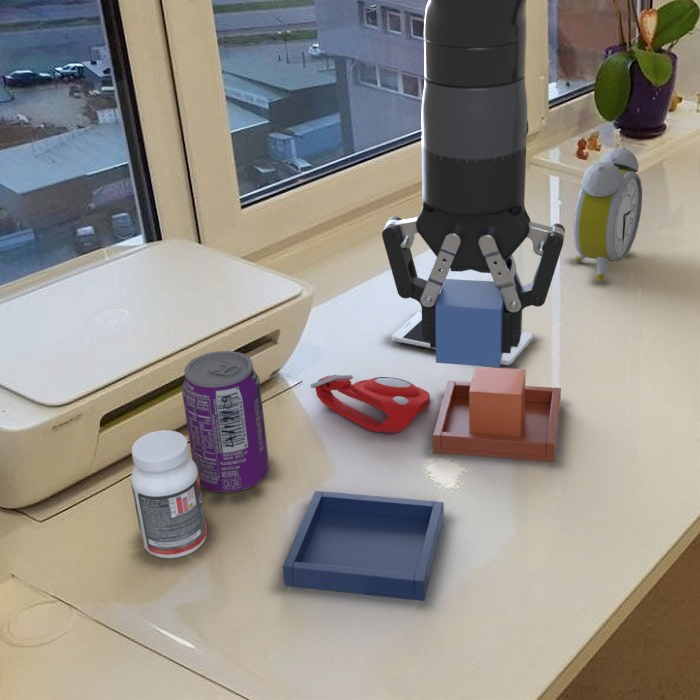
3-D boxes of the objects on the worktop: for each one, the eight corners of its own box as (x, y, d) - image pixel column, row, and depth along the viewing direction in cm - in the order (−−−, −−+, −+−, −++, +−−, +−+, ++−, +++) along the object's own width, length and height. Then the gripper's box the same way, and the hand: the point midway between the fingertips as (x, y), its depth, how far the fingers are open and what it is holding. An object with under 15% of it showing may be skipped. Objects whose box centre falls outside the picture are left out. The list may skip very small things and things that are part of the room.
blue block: (506, 337, 87) (507, 281, 84) (499, 367, 82) (501, 309, 80) (445, 333, 88) (445, 278, 85) (435, 363, 83) (435, 305, 81)
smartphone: (510, 362, 117) (389, 336, 124) (510, 367, 117) (389, 341, 124) (535, 333, 122) (418, 310, 129) (535, 338, 123) (418, 315, 129)
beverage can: (283, 464, 103) (271, 355, 97) (246, 505, 97) (232, 392, 92) (220, 450, 106) (205, 343, 100) (181, 489, 100) (163, 379, 95)
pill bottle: (221, 538, 93) (207, 443, 89) (168, 570, 90) (151, 472, 85) (182, 512, 97) (167, 419, 92) (129, 541, 94) (111, 447, 89)
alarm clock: (609, 287, 134) (616, 172, 127) (557, 278, 137) (562, 165, 130) (639, 253, 142) (648, 144, 135) (590, 245, 146) (596, 138, 138)
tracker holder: (421, 372, 115) (445, 398, 105) (415, 412, 116) (438, 440, 106) (310, 362, 112) (325, 387, 103) (305, 403, 113) (319, 431, 104)
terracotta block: (524, 412, 108) (525, 369, 106) (520, 439, 104) (521, 394, 101) (475, 408, 109) (475, 366, 107) (469, 435, 105) (469, 391, 102)
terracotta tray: (560, 404, 110) (561, 387, 109) (554, 462, 101) (555, 444, 100) (448, 397, 112) (448, 380, 111) (432, 452, 103) (432, 435, 102)
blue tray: (443, 520, 94) (443, 501, 93) (424, 601, 85) (423, 581, 84) (316, 508, 96) (314, 490, 96) (284, 585, 87) (282, 566, 86)
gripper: (365, 151, 75) (373, 362, 83) (572, 157, 72) (560, 376, 80) (386, 121, 82) (392, 319, 90) (577, 125, 78) (565, 330, 86)
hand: (471, 345), depth 85 cm, fingers closed on blue block, 5 cm apart
